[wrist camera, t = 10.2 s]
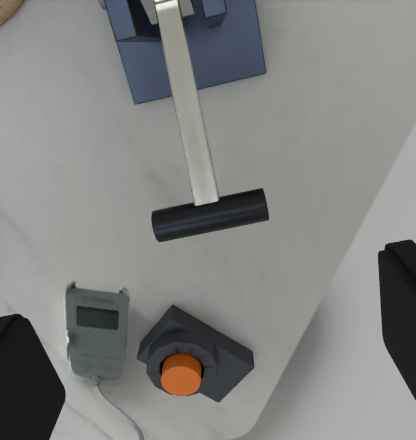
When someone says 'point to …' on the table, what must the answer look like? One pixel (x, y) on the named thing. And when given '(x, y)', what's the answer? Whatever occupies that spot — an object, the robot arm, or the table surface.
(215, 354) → the button switch box
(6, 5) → the candle holder
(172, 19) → the t-shaped lever handle
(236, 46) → the black lever switch stand
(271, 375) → the table surface
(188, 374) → the power button
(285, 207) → the table surface
